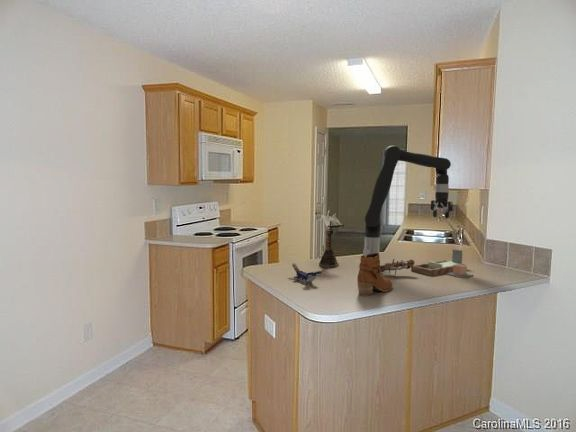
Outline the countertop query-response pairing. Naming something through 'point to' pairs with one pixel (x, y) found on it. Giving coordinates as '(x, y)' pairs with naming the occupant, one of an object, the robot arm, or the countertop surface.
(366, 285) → the boot
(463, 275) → the pad
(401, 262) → the figurine
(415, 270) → the lane board
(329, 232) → the bird statue
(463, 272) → the cube
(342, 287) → the countertop surface
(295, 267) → the toy
